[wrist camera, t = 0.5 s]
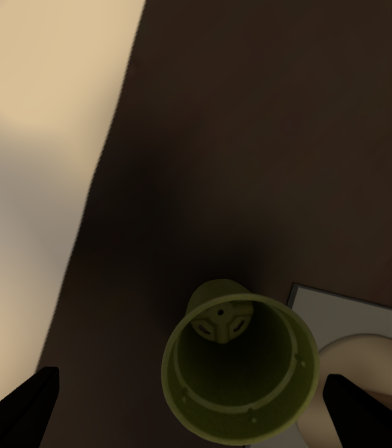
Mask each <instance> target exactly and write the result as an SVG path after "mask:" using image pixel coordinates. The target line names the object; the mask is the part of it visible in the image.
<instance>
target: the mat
mask: <svg viewBox="0 0 392 448" xmlns="http://www.w3.org/2000/svg"><path fill="white" fill-rule="evenodd" d="M287 307H289V308H290V309H292V310H293V311H294V312H295V313H296V314H298V315H299V316H300V317H301V318H302V320H303V321H304V322H305V323H306V324H307V326H308V327H309V329H310V330H311V332H312V334H313V336H314V338H315V341H316V344H317V347H318V352H319V351H320V350H322V349H323V348H324V347H326V346H327V345H329V344H331V343H333V342H335V341H337V340H339V339H342V338H345V337H348V336H352V335H358V334H375V335H381V336H385V337H388V338H391V339H392V308H389V307H385V306H381V305H377V304H373V303H369V302H365V301H361V300H357V299H353V298H349V297H345V296H341V295H337V294H333V293H329V292H325V291H321V290H317V289H313V288H309V287H305V286H301V285H297V284H293V287H292V291H291V294H290V297H289V301H288V304H287ZM245 448H309V447H308V445H307V444H306V443H305V441H304V439H303V437H302V435H301V433H300V431H299V429H298V427H297V424H296V422H295V423H294V424H292V425H291V426H290V427H289V428H288V429H286V430H285V431H283V432H282V433H280V434H278V435H276V436H274V437H272V438H269V439H267V440H265V441H262V442H259V443H256V444H250V445H245Z"/></svg>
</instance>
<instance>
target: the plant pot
mask: <svg viewBox="0 0 392 448" xmlns="http://www.w3.org/2000/svg"><path fill="white" fill-rule="evenodd" d="M219 310H223V314H222V315H219V314H218V311H219ZM241 320H244V323H243V325H242V326H241V328H240V329H239V330H238V331H234V328H236V326H238V324H239V323H240V322H241ZM199 324H201V325H202V326H203V327H204V328H205V329H206V330H208V332H210V334H207V333H204V332H203V331H201V330H200V329H199V327H198V326H199ZM319 373H320V357H319V352H318V347H317V344H316V341H315V338H314V336H313V334H312V332H311V330H310V329H309V327H308V326H307V324H306V323H305V322H304V321H303V320H302V318H301V317H300V316H299V315H298V314H296V313H295V312H294V311H293V310H292V309H290V308H289V307H287V306H286V305H284V304H283V303H281V302H279V301H277V300H274V299H272V298H270V297H267V296H263V295H259V294H254V293H251V292H250V291H249V290H247V289H246V288H245V287H243V286H242V285H240V284H239V283H237V282H235V281H233V280H230V279H216V280H210V281H207V282H205V283H204V284H202V285H201V286H199V287H198V288H197V289H196V290H195V291H194V293H193V294H192V296H191V298H190V300H189V303H188V307H187V310H186V314H185V317H184V318H183V319H182V320H181V321H180V322H179V323H178V325H177V326H176V328H175V329H174V331H173V332H172V334H171V336H170V338H169V340H168V342H167V345H166V348H165V351H164V355H163V359H162V366H161V380H162V387H163V392H164V396H165V399H166V401H167V403H168V405H169V407H170V409H171V411H172V412H173V414H174V415H175V416H176V418H177V419H178V420H179V421H180V422H181V423H182V424H183V425H184V426H185V427H186V428H187V429H188V430H190V431H191V432H193V433H195V434H196V435H198V436H200V437H202V438H204V439H206V440H208V441H212V442H216V443H220V444H224V445H233V446H236V445H239V446H241V445H250V444H256V443H259V442H262V441H265V440H267V439H269V438H272V437H274V436H276V435H278V434H280V433H282V432H283V431H285V430H286V429H288V428H289V427H290V426H291V425H292V424H294V423H295V422H296V421H297V419H298V418H299V417H300V416H301V415H302V414H303V413H304V412H305V410H306V409H307V407H308V406H309V404H310V401H311V399H312V398H313V396H314V394H315V391H316V388H317V385H318V380H319Z"/></svg>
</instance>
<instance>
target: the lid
mask: <svg viewBox="0 0 392 448" xmlns="http://www.w3.org/2000/svg"><path fill="white" fill-rule="evenodd" d="M319 357H320V373H319V380H318V385H317V388H316V391H315V394H314V396H313V398H312V399H311V401H310V404H309V406H308V407H307V409H306V410H305V412H304V413H303V414H302V415H301V416H300V417H299V418H298V419H297V421H296V424H297V427H298V429H299V431H300V433H301V435H302V437H303V439H304V441H305V443H306V444H307V445H308V447H309V448H343V447H342V445H341V442H340V440H339V437H338V435H337V432H336V430H335V427H334V425H333V422H332V420H331V417H330V415H329V412H328V410H327V407H326V405H325V402H324V400H323V395H322V393H323V388H324V385H325V382H326V379H327V376H328V375H329V374H341V375H343V376H344V377H346V378H347V379H348V380H350V381H351V382H353V383H354V384H355V385H357V386H358V387H360V388H361V389H362V390H364V391H365V392H367V393H368V394H369V395H371V396H372V397H374V398H375V399H376V400H378V401H379V402H381V403H382V404H383V405H385V406H386V407H387V408H389V409H390V410H392V339H391V338H388V337H385V336H381V335H375V334H358V335H352V336H348V337H345V338H342V339H339V340H337V341H335V342H333V343H331V344H329V345H327V346H326V347H324V348H323V349H322V350H320V351H319Z"/></svg>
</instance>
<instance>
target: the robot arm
mask: <svg viewBox="0 0 392 448" xmlns="http://www.w3.org/2000/svg"><path fill="white" fill-rule="evenodd" d="M58 394H59V369H58V367H43V368H42V369H40V370H39V371H38V372H36V373H35V374H34V375H33V376H31V377H30V378H29V379H28V380H26V381H25V382H24V383H23V384H21V385H20V386H19V387H17V388H16V389H15V390H14V391H12V392H11V393H10V394H9V395H7V396H6V397H5V398H4V399H2V400H1V401H0V448H39V446H40V443H41V441H42V438H43V435H44V432H45V430H46V427H47V424H48V421H49V419H50V416H51V413H52V411H53V408H54V405H55V402H56V400H57V397H58ZM322 395H323V400H324V402H325V405H326V407H327V410H328V412H329V415H330V417H331V420H332V422H333V425H334V427H335V430H336V432H337V435H338V437H339V440H340V442H341V445H342V447H343V448H392V410H390V409H389V408H387V407H386V406H385V405H383V404H382V403H381V402H379V401H378V400H376V399H375V398H374V397H372V396H371V395H369V394H368V393H367V392H365V391H364V390H362V389H361V388H360V387H358V386H357V385H355V384H354V383H353V382H351V381H350V380H348V379H347V378H346V377H344V376H343V375H341V374H329V375H328V376H327V379H326V382H325V385H324V388H323V393H322Z"/></svg>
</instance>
